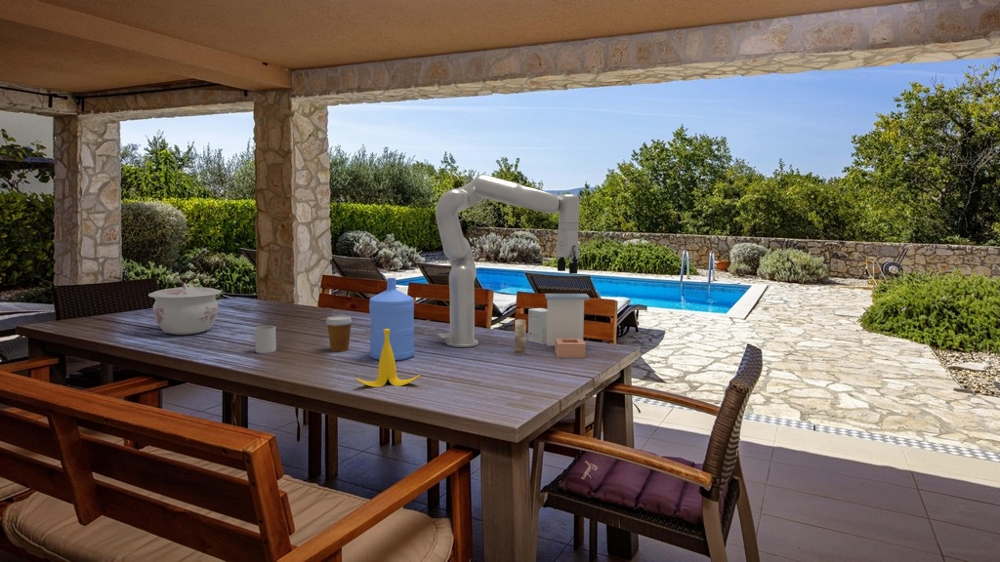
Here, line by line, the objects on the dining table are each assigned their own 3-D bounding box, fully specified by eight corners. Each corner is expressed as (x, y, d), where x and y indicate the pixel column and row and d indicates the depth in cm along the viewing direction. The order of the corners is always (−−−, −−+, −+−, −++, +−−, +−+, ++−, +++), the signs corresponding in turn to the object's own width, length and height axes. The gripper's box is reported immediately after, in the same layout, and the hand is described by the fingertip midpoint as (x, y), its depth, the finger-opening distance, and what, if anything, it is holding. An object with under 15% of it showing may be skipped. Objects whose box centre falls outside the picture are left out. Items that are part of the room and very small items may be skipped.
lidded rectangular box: (545, 349, 239) (546, 296, 237) (544, 344, 247) (545, 293, 245) (588, 349, 240) (589, 296, 237) (585, 345, 248) (586, 293, 245)
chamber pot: (185, 341, 249) (182, 288, 246) (134, 335, 259) (131, 285, 256) (238, 328, 275) (236, 281, 272) (190, 324, 285) (187, 278, 282)
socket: (557, 357, 227) (557, 343, 226) (554, 351, 237) (554, 338, 236) (585, 357, 227) (585, 344, 226) (581, 351, 237) (581, 338, 236)
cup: (251, 353, 229) (250, 329, 228) (264, 347, 239) (263, 324, 238) (271, 353, 228) (270, 329, 227) (282, 347, 238) (282, 324, 237)
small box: (553, 342, 252) (553, 310, 251) (541, 344, 248) (541, 311, 247) (539, 339, 258) (539, 307, 257) (527, 341, 254) (528, 309, 253)
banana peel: (354, 390, 185) (353, 333, 183) (384, 373, 203) (383, 322, 201) (406, 395, 181) (405, 337, 179) (432, 378, 199) (431, 325, 197)
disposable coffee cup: (343, 353, 230) (343, 320, 229) (321, 351, 233) (320, 319, 232) (357, 348, 239) (357, 316, 238) (335, 346, 242) (335, 315, 241)
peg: (514, 353, 232) (515, 321, 231) (514, 351, 236) (514, 319, 235) (525, 353, 232) (526, 321, 231) (525, 351, 236) (525, 319, 235)
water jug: (423, 356, 227) (423, 278, 224) (387, 363, 216) (386, 281, 212) (396, 349, 238) (395, 275, 234) (361, 356, 226) (359, 278, 223)
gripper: (549, 226, 247) (548, 270, 249) (570, 228, 231) (568, 274, 233) (566, 226, 250) (565, 269, 252) (588, 228, 234) (586, 274, 236)
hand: (567, 272), depth 242 cm, fingers open, 9 cm apart
